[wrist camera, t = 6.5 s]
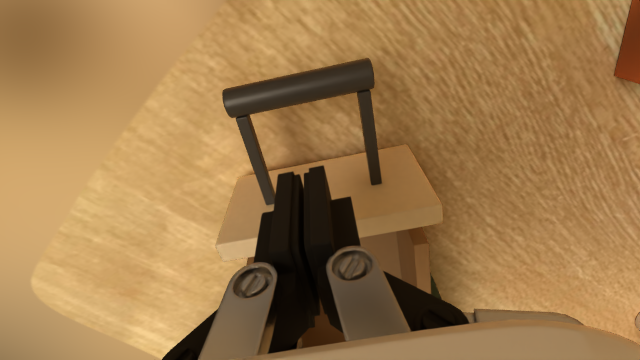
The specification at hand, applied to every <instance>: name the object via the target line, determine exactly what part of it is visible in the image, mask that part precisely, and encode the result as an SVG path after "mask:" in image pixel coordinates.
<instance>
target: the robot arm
mask: <svg viewBox="0 0 640 360" xmlns="http://www.w3.org/2000/svg"><path fill="white" fill-rule="evenodd" d="M320 301H321V304H322V307H323V310H324V313H325V315H326V314H327V316H328V319H329V323H330V325H332V326H333V327H335V328H336V329H337V330H339V331H340V332H342V333H343V334H344V337H345V340H346V342H341V343H334V344H328V345H321V346H315V347H308V348H303V339H302V335H303V334H304V333H305V332H306V331H307V330H308V329H309V328H313V327H315V316H320ZM162 360H640V345H638V344H637V343H635V342H633V341H631V340H629V339H626V338H624V337H622V336H620V335H617V334H614V333H611V332H608V331H604V330H601V329H597V328H593V327H589V326H584V325H583V324H582V323H581V322H579V321H578V320H576V319H574V318H572V317H570V316H568V315H565V314H560V313H554V312H534V311H512V310H490V309H474V313H466V312H462V311H461V310H459V309H458V308H456V307H455V306H453V305H451V304H449V303H447V302H445V301H443V300H441V299H439V298H437V297H435V296H433V295H431V294H429V293H427V292H425V291H423V290H421V289H419V288H417V287H415V286H413V285H411V284H409V283H407V282H405V281H403V280H401V279H399V278H397V277H395V276H393V275H391V274H389V273H387V272H385V271H383V270H382V268H381V266H380V264H379V262H378V260H377V257H376V256H375V255H374V253H373V252H372V251H370V250H369V249H368V248H365V247H362V246H361V244H360V239H359V234H358V229H357V224H356V219H355V214H354V209H353V204H352V199H351V196H349V197H344V198H339V199H334V200H332V198H331V194H330V190H329V185H328V181H327V176H326V172H325V168H324V165H322V166H317V167H312V168H309V172H307V173H304V187H303V183H302V180H301V176H300V174H297V175H295V174H294V172H293V171H292V172H287V173H281V174H278V177H277V185H276V193H275V201H274V210H273V211H270V212H264V213H262V216H261V221H260V227H259V233H258V239H257V245H256V251H255V257H254V262H253V263H252V264H249V265H247V266H244V267H243V268H241V269H240V270H238V271H237V272H236V273H235V274H234V275H233V277H232V278H231V280H230V282H229V284H228V286H227V289H226V291H225V294H224V296H223V299H222V301H221V304H220V306H219V308H218V309H217V310H216V311H215V312H214V313H213V314H212V315H210V316H209V317H208V318H207V319H206V320H205V321H203V322H202V323H201V324H200V325H199V326H198V327H197V328H195V329H194V330H193V331H192V332H191V333H190V334H188V335H187V336H186V337H185V338H184V339H183V340H182V341H180V342H179V343H178V344H177V345H176V346H175V347H173V348H172V349H171V350H170V351H169V352H168V353H167V354H166V355H165V356H164V357H163V359H162Z"/></svg>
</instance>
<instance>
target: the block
mask: <svg viewBox="0 0 640 360" xmlns="http://www.w3.org/2000/svg"><path fill="white" fill-rule="evenodd" d="M614 76H617V77H620V78H623V79H626V80H629V81H632V82H635V83H638V84H640V0H632V4H631V8H630V12H629V16H628V20H627V25H626V29H625V33H624V37H623V41H622V45H621V49H620V53H619V58H618V62H617V66H616V70H615V74H614Z"/></svg>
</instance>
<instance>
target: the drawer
mask: <svg viewBox="0 0 640 360" xmlns="http://www.w3.org/2000/svg"><path fill="white" fill-rule="evenodd" d="M374 85H375V82H374V73H373V67H372V63H371V60H370V59H369V58H365V59H361V60H356V61H351V62H347V63H342V64H337V65H333V66H328V67H324V68H319V69H314V70H310V71H305V72H301V73H296V74H291V75H287V76H282V77H277V78H273V79H268V80H264V81H259V82H254V83H250V84H245V85H241V86H236V87H231V88H227V89H224V90H223V94H222V96H223V103H224V107H225V109H226V112H227V114H228V115H229V117H231V118H236V117H237V118H236V121H237V124H238V127H239V130H240V133H241V135H242V138H243V141H244V144H245V147H246V150H247V153H248V155H249V158H250V161H251V164H252V167H253V170H254V172H255V174H252V175H247V176H242V177H238V179H237V182H236V185H235V188H234V191H233V194H232V197H231V200H230V203H229V206H228V209H227V212H226V215H225V218H224V221H223V224H222V227H221V230H220V233H219V236H218V239H217V242H216V245H215V246H216V249H217V251H218V253H219V255H220V257H221V259H222V261H223V262H226V261H232V260H237V259H243V258H248V260H247V265H249V264H252V263H253V262H254V257H255V251H256V245H257V239H258V233H259V227H260V221H261V216H262V213H264V212H270V211H273V210H274V201H275V193H276V185H277V177H278V174H281V173H287V172H292V171H293V172H294V174H295V175H297V174H300V176H301V180H302V183H303V187H304V173H307V172H309V168H312V167H317V166H322V165H324V168H325V172H326V176H327V181H328V185H329V190H330V194H331V198H332V200H334V199H339V198H344V197H349V196H351V199H352V204H353V209H354V214H355V219H356V224H357V229H358V234H359V239H360V244H361V246H362V247H365V248H368V249H369V250H370V251H372V252H373V253H374V255H375V256H376V257H377V260H378V262H379V264H380V266H381V268H382V270H383V271H385V272H387V273H389V274H391V275H393V276H395V277H397V278H399V279H401V280H403V281H405V282H407V283H409V284H411V285H413V286H415V287H417V288H419V289H421V290H423V291H425V292H427V293H429V294H431V279H430V259H429V243H428V240H427V238H426V236H425V234H424V232H423V229H422V227H423V226H429V225H435V224H440V223H442V222H443V206H442V203H441V202H440V200H439V198H438V196H437V195H436V193H435V191H434V190H433V188H432V186H431V184H430V183H429V181H428V179H427V178H426V176H425V174H424V172H423V171H422V169H421V167H420V166H419V164H418V162H417V160H416V159H415V157H414V155H413V154H412V152H411V150H410V148H409V147H408V145H407V144H405V145H400V146H395V147H390V148H385V149H380V150H378V147H377V139H376V131H375V123H374V115H373V108H372V100H371V92H370V90H369V89H373V88H374ZM355 92H357V97H358V104H359V110H360V117H361V124H362V130H363V137H364V144H365V150H366V152H364V153H359V154H354V155H349V156H344V157H339V158H334V159H329V160H324V161H318V162H313V163H308V164H303V165H298V166H293V167H288V168H283V169H278V170H272V171H268V170H267V167H266V164H265V161H264V158H263V155H262V152H261V149H260V145H259V142H258V139H257V136H256V133H255V130H254V127H253V124H252V121H251V118H250V114H255V113H259V112H264V111H269V110H274V109H279V108H283V107H288V106H293V105H298V104H302V103H307V102H312V101H317V100H321V99H326V98H331V97H336V96H341V95H345V94H350V93H355ZM247 265H246V266H247ZM302 339H303V348H308V347H315V346H321V345H328V344H334V343H341V342H346V340H345V337H344V334H343V333H342V332H340V331H339V330H337V329H336V328H335V327H333V326H332V325H330V323H329V319H328V316H327V314H326V315H325V313H324V310H323V307H322V304H321V301H320V316H315V327H313V328H309V329H308V330H307V331H306V332H305V333H304V334H303V335H302Z"/></svg>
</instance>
